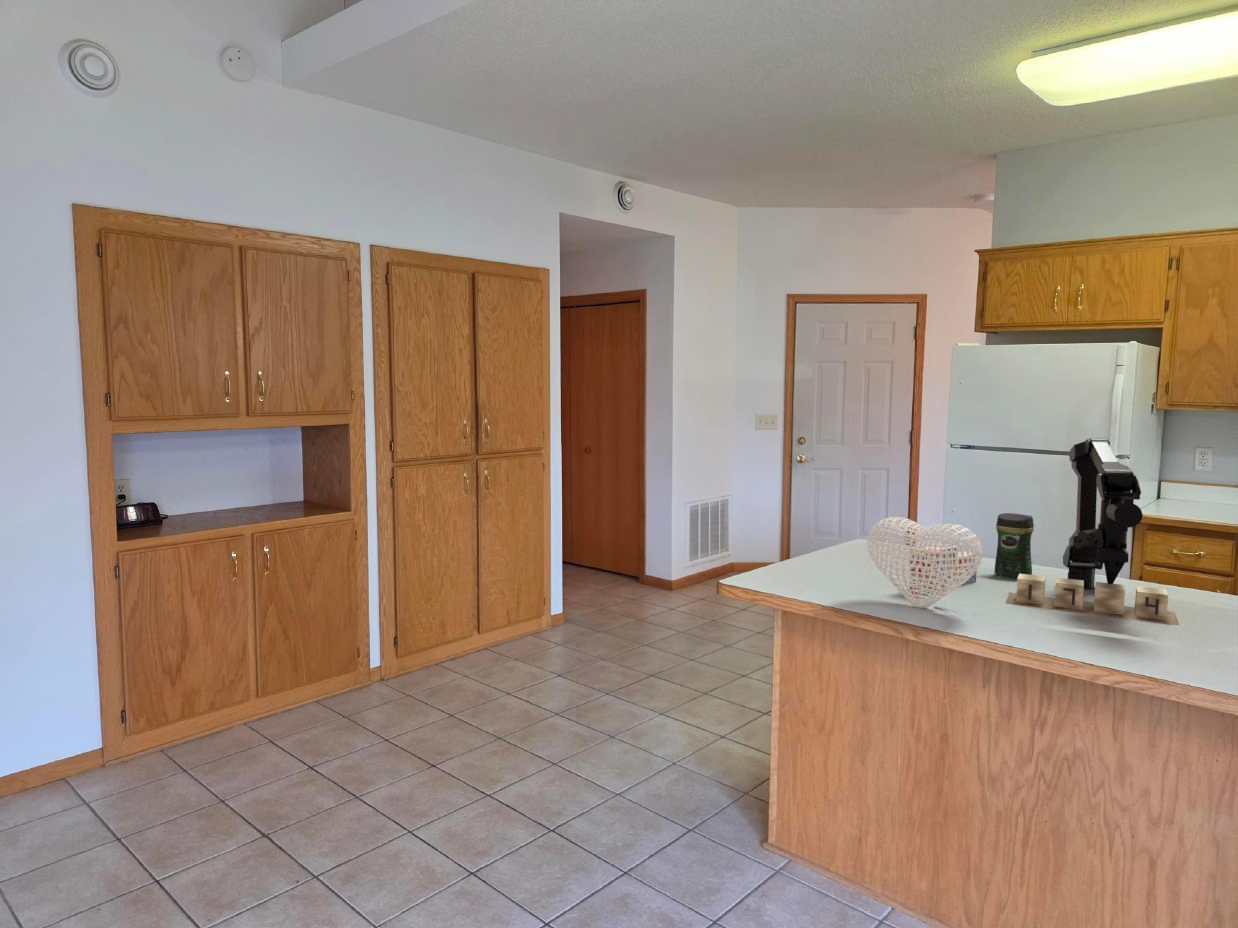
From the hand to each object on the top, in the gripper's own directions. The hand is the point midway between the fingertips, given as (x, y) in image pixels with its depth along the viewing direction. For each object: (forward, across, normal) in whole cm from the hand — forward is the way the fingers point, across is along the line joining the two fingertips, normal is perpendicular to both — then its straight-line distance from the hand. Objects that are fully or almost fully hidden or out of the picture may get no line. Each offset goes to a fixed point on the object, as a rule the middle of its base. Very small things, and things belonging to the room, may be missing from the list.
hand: (1110, 583), depth 191 cm
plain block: (+6, 0, 0) cm, 7 cm away
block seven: (+6, 0, -8) cm, 11 cm away
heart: (+8, +18, -40) cm, 45 cm away
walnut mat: (+8, 0, -4) cm, 9 cm away
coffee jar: (+8, -31, -24) cm, 40 cm away
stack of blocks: (+8, -5, -39) cm, 40 cm away
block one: (+6, 0, -17) cm, 18 cm away
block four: (+6, 0, +8) cm, 11 cm away
